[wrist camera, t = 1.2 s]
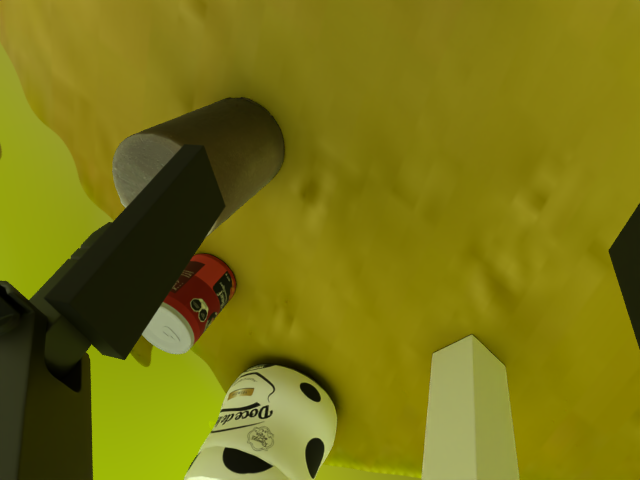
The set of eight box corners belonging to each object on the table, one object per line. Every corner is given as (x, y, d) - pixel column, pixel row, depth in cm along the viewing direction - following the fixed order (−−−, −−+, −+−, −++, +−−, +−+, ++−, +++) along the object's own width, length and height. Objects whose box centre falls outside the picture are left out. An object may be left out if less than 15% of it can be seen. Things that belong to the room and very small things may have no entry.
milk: (472, 333, 44) (480, 552, 26) (506, 366, 45) (537, 601, 27) (431, 353, 48) (413, 560, 29) (463, 384, 48) (465, 603, 30)
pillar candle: (248, 77, 37) (144, 108, 25) (303, 161, 40) (233, 227, 28) (188, 128, 42) (76, 174, 30) (240, 200, 45) (157, 270, 33)
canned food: (228, 307, 55) (182, 364, 46) (182, 278, 55) (127, 329, 46) (245, 273, 51) (198, 329, 42) (194, 241, 51) (137, 290, 42)
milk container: (254, 335, 56) (181, 449, 42) (360, 389, 55) (323, 527, 40) (232, 396, 66) (166, 505, 52) (321, 443, 65) (280, 569, 50)
